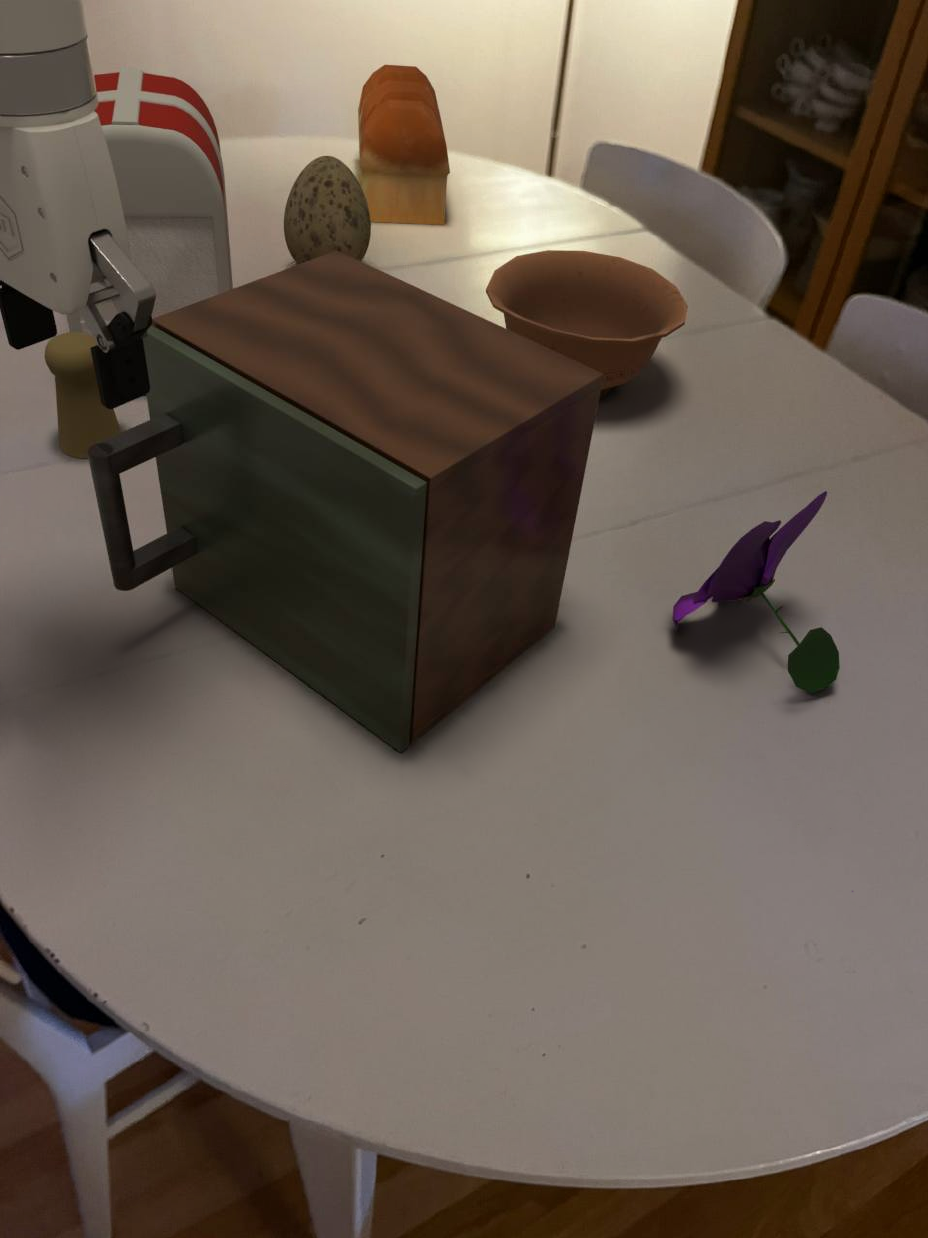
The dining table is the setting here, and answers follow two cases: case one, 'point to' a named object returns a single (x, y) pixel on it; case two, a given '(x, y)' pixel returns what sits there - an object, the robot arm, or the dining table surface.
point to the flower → (750, 577)
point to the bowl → (589, 308)
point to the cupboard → (429, 443)
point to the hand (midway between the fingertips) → (79, 369)
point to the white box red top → (165, 188)
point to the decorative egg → (326, 212)
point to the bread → (402, 147)
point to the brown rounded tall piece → (78, 394)
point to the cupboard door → (275, 531)
